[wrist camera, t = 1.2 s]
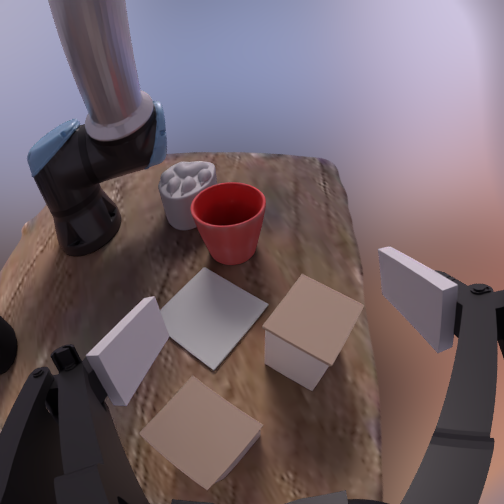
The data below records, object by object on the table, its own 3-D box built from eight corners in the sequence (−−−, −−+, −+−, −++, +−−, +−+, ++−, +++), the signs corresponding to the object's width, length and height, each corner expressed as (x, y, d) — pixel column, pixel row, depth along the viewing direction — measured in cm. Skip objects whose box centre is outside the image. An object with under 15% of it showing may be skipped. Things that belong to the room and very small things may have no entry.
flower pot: (272, 267, 44) (274, 219, 36) (202, 278, 42) (190, 232, 35) (258, 223, 51) (257, 177, 44) (199, 232, 50) (189, 187, 43)
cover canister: (173, 443, 26) (138, 433, 18) (212, 400, 30) (192, 375, 22) (224, 480, 22) (207, 490, 15) (263, 435, 26) (263, 424, 19)
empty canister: (262, 363, 33) (262, 325, 25) (293, 321, 37) (301, 273, 29) (312, 393, 30) (332, 365, 22) (340, 347, 34) (364, 305, 26)
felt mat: (151, 321, 37) (150, 319, 37) (204, 268, 44) (204, 266, 43) (214, 370, 32) (213, 369, 32) (268, 305, 39) (268, 304, 38)
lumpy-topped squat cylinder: (222, 190, 59) (218, 154, 52) (210, 231, 50) (203, 191, 44) (176, 190, 59) (169, 156, 53) (157, 229, 51) (145, 192, 44)
